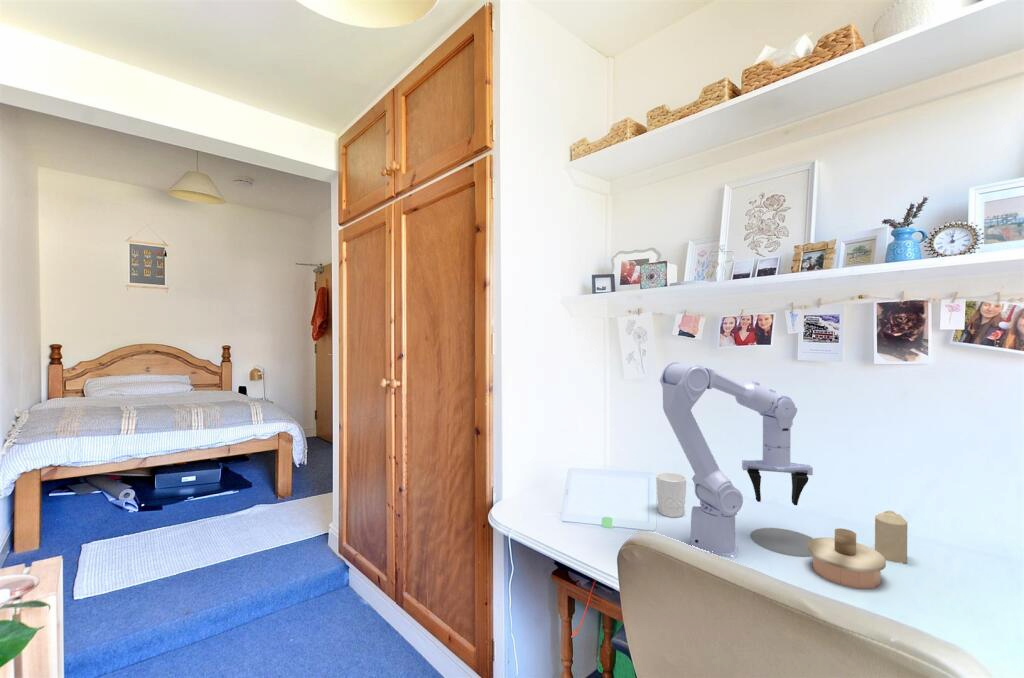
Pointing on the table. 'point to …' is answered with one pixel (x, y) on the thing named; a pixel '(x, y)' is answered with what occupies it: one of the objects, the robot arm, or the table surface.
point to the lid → (846, 552)
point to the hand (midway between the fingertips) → (776, 502)
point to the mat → (782, 541)
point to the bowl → (846, 575)
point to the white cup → (671, 494)
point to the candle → (891, 536)
